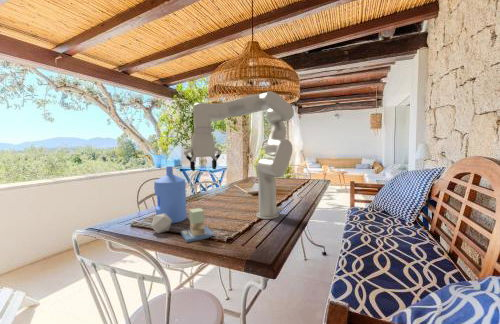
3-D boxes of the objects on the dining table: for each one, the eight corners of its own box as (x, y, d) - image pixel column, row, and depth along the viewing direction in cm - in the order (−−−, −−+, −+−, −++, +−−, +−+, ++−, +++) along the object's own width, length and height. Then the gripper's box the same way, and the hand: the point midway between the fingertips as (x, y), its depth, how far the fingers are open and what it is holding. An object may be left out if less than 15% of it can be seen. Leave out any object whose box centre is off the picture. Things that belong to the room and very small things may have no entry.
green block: (200, 218, 111) (200, 208, 110) (204, 222, 106) (203, 210, 106) (189, 220, 108) (189, 209, 108) (192, 224, 104) (192, 212, 103)
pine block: (201, 229, 111) (200, 218, 111) (204, 233, 107) (204, 222, 106) (190, 231, 109) (189, 220, 108) (193, 235, 104) (192, 224, 104)
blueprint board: (206, 228, 115) (206, 226, 115) (214, 236, 106) (214, 233, 106) (180, 233, 110) (180, 230, 110) (186, 242, 100) (186, 239, 100)
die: (168, 227, 119) (154, 213, 117) (178, 221, 115) (165, 206, 113) (158, 239, 112) (143, 224, 110) (168, 233, 108) (153, 218, 106)
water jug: (191, 215, 136) (189, 165, 134) (180, 225, 121) (178, 168, 118) (164, 214, 138) (161, 165, 135) (150, 224, 122) (147, 168, 120)
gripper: (218, 131, 116) (218, 167, 118) (181, 131, 108) (182, 170, 110) (223, 131, 110) (224, 169, 111) (185, 131, 102) (186, 172, 103)
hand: (203, 169), depth 111 cm, fingers open, 9 cm apart
